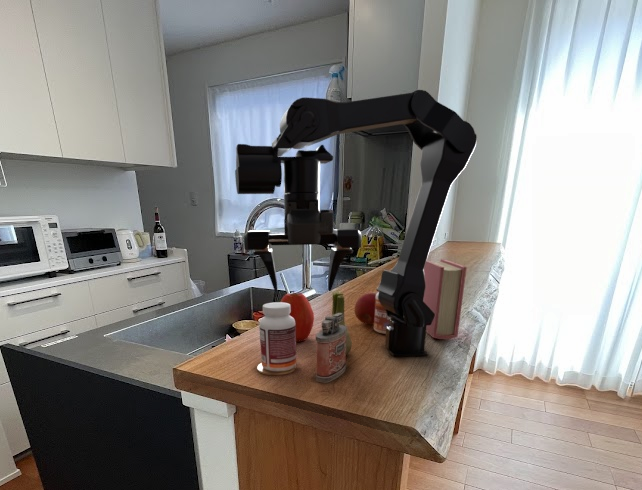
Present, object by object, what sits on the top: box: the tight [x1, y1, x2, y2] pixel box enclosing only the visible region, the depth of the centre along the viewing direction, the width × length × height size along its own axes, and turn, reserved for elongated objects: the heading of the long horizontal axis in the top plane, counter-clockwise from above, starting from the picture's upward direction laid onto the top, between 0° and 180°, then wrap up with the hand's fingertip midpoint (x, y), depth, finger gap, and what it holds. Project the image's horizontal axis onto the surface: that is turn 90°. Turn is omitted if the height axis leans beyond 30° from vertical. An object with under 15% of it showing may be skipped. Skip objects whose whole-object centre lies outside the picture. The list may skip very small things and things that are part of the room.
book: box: [423, 258, 468, 340], centre depth 84 cm, size 14×15×5 cm
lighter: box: [315, 313, 348, 383], centre depth 63 cm, size 8×3×10 cm, turn 148°
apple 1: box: [279, 290, 315, 343], centre depth 81 cm, size 8×8×11 cm
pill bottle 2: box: [373, 280, 392, 335], centre depth 85 cm, size 6×6×11 cm
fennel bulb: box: [331, 291, 352, 356], centre depth 71 cm, size 6×5×12 cm
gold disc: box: [256, 362, 297, 376], centre depth 67 cm, size 7×7×1 cm
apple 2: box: [354, 292, 378, 325], centre depth 92 cm, size 8×8×8 cm
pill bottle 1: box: [258, 301, 297, 372], centre depth 66 cm, size 6×6×11 cm
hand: (302, 291), depth 66 cm, fingers open, 9 cm apart
